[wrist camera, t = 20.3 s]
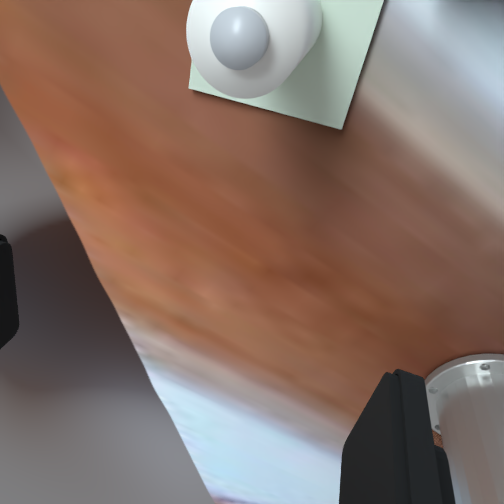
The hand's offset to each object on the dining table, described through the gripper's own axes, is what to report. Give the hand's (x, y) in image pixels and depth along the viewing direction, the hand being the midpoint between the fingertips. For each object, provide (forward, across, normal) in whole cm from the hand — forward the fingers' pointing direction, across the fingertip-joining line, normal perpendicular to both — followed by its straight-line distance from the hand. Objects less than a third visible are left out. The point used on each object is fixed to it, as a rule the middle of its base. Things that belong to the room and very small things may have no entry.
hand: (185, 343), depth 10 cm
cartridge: (+25, +4, -6) cm, 26 cm away
